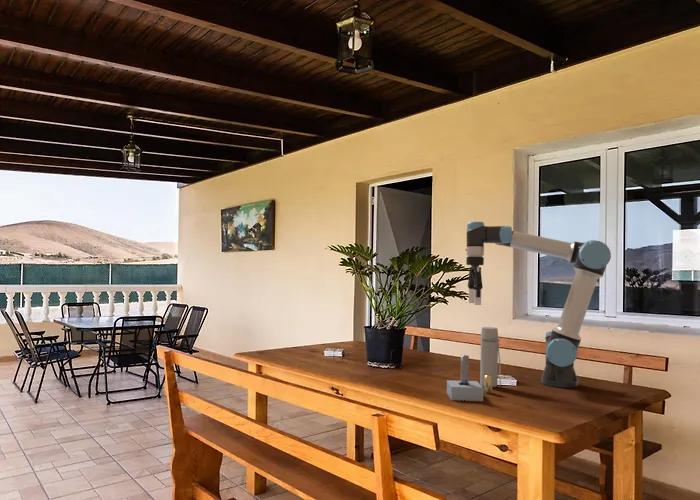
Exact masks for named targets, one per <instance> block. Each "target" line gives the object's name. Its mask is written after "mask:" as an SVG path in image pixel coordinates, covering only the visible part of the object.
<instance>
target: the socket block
mask: <svg viewBox="0 0 700 500" xmlns="http://www.w3.org/2000/svg"><path fill="white" fill-rule="evenodd" d="M446 395H447V396H448V397H449V399H450V400H451V401H461V400H462V401H463V402H464V400H465V402H466V401H467V402H484V387H483V386H481V384H480V383H479V382H478V381H477V380H468V385H461V380H450V379H448V380H446Z"/></svg>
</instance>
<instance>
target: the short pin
mask: <svg viewBox="0 0 700 500" xmlns="http://www.w3.org/2000/svg"><path fill="white" fill-rule="evenodd" d="M483 394H486V395H488V394H489V395H490V394H493V388H492V375H485V377H484V387H483Z"/></svg>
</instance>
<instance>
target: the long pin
mask: <svg viewBox="0 0 700 500" xmlns="http://www.w3.org/2000/svg"><path fill="white" fill-rule="evenodd" d="M469 361H470V357H469V354H468V355H467V354H464V355H463V354H461V355H460V381H461V385H468V381H469V378H470V377H469V366H470V365H469V364H470V363H469Z"/></svg>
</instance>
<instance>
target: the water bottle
mask: <svg viewBox="0 0 700 500" xmlns="http://www.w3.org/2000/svg"><path fill="white" fill-rule="evenodd" d="M480 331H481V332H480V337H479V338H480V364H479V366H480V370H479V371H480V376H479V378H480V380H479V382H480V383H479V384H480V385H481V386H482V387H483V388H484V377H485V375H492V389H493V387H494V388H496V387H497V386H498V377H499V375H501V370H502V369H501V368H502V367H501V357H500V348H499V345H500V344H499V342H500V339H499V332H498V331H499V330H498V328H497V327H494V326H493V327H492V326H484V327H483V326H482V327H481V330H480ZM498 366H499V367H498ZM498 368H499V370H498ZM498 371H499V372H498Z"/></svg>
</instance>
